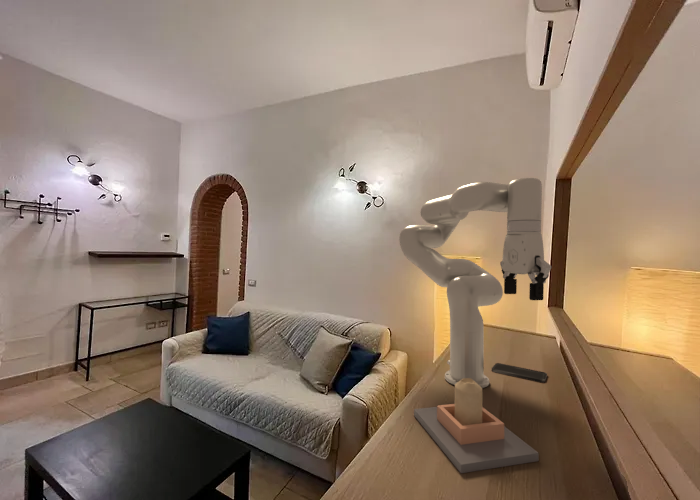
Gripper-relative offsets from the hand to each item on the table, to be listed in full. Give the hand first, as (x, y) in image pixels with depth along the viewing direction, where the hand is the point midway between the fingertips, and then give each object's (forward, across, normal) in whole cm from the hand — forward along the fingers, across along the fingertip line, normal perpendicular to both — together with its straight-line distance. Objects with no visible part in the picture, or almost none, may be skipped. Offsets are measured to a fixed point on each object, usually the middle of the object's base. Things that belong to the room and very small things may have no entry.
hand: (522, 296), depth 79 cm
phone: (+28, -20, +14) cm, 38 cm away
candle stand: (+28, +10, -19) cm, 35 cm away
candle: (+26, +10, -19) cm, 34 cm away
